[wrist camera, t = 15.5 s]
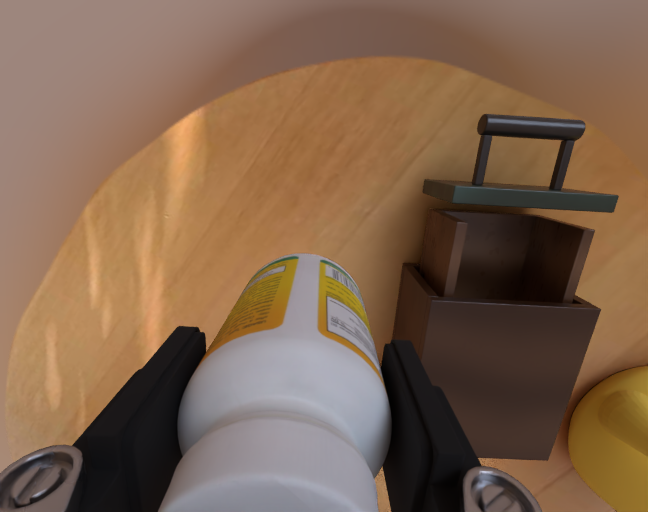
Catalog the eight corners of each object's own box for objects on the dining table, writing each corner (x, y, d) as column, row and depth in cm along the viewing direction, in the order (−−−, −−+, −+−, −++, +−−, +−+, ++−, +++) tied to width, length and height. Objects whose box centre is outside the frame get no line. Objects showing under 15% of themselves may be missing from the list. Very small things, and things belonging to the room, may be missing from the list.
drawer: (432, 119, 26) (469, 106, 20) (566, 127, 27) (645, 118, 20) (403, 316, 32) (424, 357, 25) (515, 322, 32) (563, 363, 26)
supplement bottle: (372, 260, 14) (473, 467, 5) (350, 364, 15) (392, 672, 6) (248, 241, 13) (91, 423, 4) (238, 349, 15) (108, 650, 6)
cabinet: (402, 262, 31) (431, 300, 23) (528, 269, 31) (601, 309, 23) (385, 386, 36) (404, 455, 27) (496, 391, 36) (548, 461, 28)
